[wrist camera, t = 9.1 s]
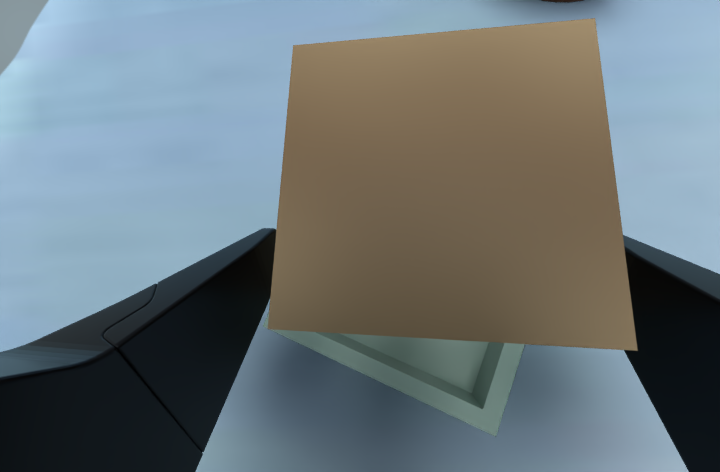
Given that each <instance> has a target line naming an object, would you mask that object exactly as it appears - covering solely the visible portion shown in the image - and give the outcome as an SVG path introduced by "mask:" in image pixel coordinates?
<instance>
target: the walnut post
mask: <svg viewBox="0 0 720 472" xmlns="http://www.w3.org/2000/svg"><path fill="white" fill-rule="evenodd" d="M268 329H273V330H290V331H307V332H325V333H342V334H359V335H376V336H393V337H411V338H428V339H445V340H462V341H479V342H497V343H514V344H531V345H548V346H565V347H583V348H600V349H617V350H634V351H638V350H637V342H636V334H635V326H634V319H633V311H632V303H631V295H630V287H629V280H628V272H627V264H626V256H625V248H624V241H623V233H622V225H621V217H620V209H619V202H618V194H617V186H616V178H615V171H614V163H613V155H612V147H611V139H610V132H609V124H608V116H607V108H606V100H605V93H604V85H603V77H602V69H601V61H600V54H599V46H598V38H597V30H596V22H595V18H593V19H582V20H571V21H560V22H549V23H538V24H526V25H515V26H504V27H493V28H482V29H471V30H460V31H449V32H438V33H426V34H415V35H404V36H393V37H382V38H371V39H360V40H349V41H337V42H326V43H315V44H304V45H293V54H292V65H291V76H290V87H289V98H288V109H287V120H286V131H285V142H284V153H283V164H282V175H281V187H280V198H279V209H278V220H277V231H276V242H275V253H274V264H273V275H272V286H271V297H270V308H269V319H268Z"/></svg>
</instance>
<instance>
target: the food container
mask: <svg viewBox="0 0 720 472" xmlns="http://www.w3.org/2000/svg"><path fill="white" fill-rule="evenodd" d="M542 1H549V2H575V1H583V0H542Z"/></svg>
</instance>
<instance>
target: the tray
mask: <svg viewBox="0 0 720 472" xmlns="http://www.w3.org/2000/svg"><path fill="white" fill-rule="evenodd" d="M268 319H269V313H268V315H267V318H266V320H265V322H264V325H263V327H265V328H267V329H268ZM269 330H271V331H274V332H276V333H278V334H280V335H282V336H284V337H286V338H288V339H290V340H292V341H295V342H297V343H299V344H301V345H303V346H305V347H307V348H309V349H311V350H314V351H316V352H318V353H320V354H322V355H324V356H326V357H328V358H330V359H333V360H335V361H337V362H339V363H341V364H343V365H345V366H347V367H349V368H352V369H354V370H356V371H358V372H360V373H362V374H364V375H366V376H368V377H370V378H373V379H375V380H377V381H379V382H381V383H383V384H385V385H387V386H389V387H392V388H394V389H396V390H398V391H400V392H402V393H404V394H406V395H408V396H411V397H413V398H415V399H417V400H419V401H421V402H423V403H425V404H427V405H430V406H432V407H434V408H436V409H438V410H440V411H442V412H444V413H446V414H448V415H451V416H453V417H455V418H457V419H459V420H461V421H463V422H465V423H467V424H470V425H472V426H474V427H476V428H478V429H480V430H482V431H484V432H486V433H489V434H491V435H493V436H495V437H496V435H497V432H498V429H499V425H500V422H501V419H502V416H503V413H504V410H505V406H506V403H507V400H508V397H509V394H510V390H511V387H512V384H513V381H514V378H515V375H516V371H517V368H518V365H519V362H520V359H521V355H522V352H523V349H524V346H525V344H514V343H497V342H479V341H462V340H445V339H428V338H411V337H393V336H376V335H359V334H342V333H325V332H307V331H290V330H273V329H269Z"/></svg>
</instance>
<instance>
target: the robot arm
mask: <svg viewBox="0 0 720 472" xmlns="http://www.w3.org/2000/svg"><path fill="white" fill-rule="evenodd" d="M276 231H277V230H276V229H273V228H263V229H261V230H259V231H257V232H255V233H253V234H251V235H249V236H247V237H245V238H243V239H241V240H239V241H237V242H235V243H233V244H231V245H230V246H228V247H226V248H224V249H222V250H220V251H218V252H216V253H214V254H212V255H210V256H208V257H206V258H204V259H202V260H200V261H199V262H197V263H195V264H193V265H191V266H189V267H187V268H185V269H183V270H181V271H179V272H177V273H175V274H173V275H171V276H169V277H168V278H166V279H164V280H162V281H160V282H158V284H154V285H152V286H150V287H148V288H146V289H144V290H142V291H140V292H138V293H136V294H134V295H132V296H130V297H128V298H126V299H124V300H122V301H120V302H118V303H116V304H114V305H112V306H109V307H107V308H105V309H103V310H101V311H99V312H97V313H95V314H92V315H90V316H88V317H86V318H84V319H81V320H79V321H77V322H75V323H73V324H70V325H68V326H66V327H64V328H62V329H60V330H57V331H55V332H53V333H51V334H49V335H46V336H44V337H42V338H40V339H38V340H35V341H33V342H31V343H28V344H26V345H23V346H20V347H17V348H14V349H11V350H7V351H3V352H0V472H195V471H196V469H197V466H198V464H199V462H200V460H201V457H202V455H203V453H202V452H204V450H205V447H206V445H207V443H208V440H209V438H210V436H211V433H212V431H213V429H214V427H215V424H216V422H217V420H218V417H219V415H220V413H221V410H222V408H223V406H224V403H225V401H226V399H227V397H228V394H229V392H230V390H231V387H232V385H233V383H234V380H235V378H236V376H237V373H238V371H239V369H240V366H241V364H242V362H243V360H244V357H245V355H246V353H247V350H248V348H249V346H250V343H251V341H252V339H253V336H254V334H255V332H256V330H257V327H258V325H259V323H260V320H261V318H262V316H263V313H264V311H265V309H266V306H267V304H268V302H269V299H270V296H271V286H272V275H273V264H274V253H275V242H276ZM623 241H624V248H625V256H626V264H627V272H628V280H629V287H630V295H631V303H632V311H633V319H634V326H635V334H636V342H637V350H638V351H634V350H624V351H625V353H626V355H627V357H628V359H629V361H630V362H631V364H632V366H633V368H634V370H635V372H636V374H637V375H638V377H639V379H640V381H641V383H642V385H643V387H644V389H645V390H646V392H647V394H648V396H649V398H650V400H651V402H652V404H653V405H654V407H655V409H656V411H657V413H658V415H659V417H660V419H661V420H662V422H663V424H664V426H665V428H666V430H667V432H668V434H669V435H670V437H671V439H672V441H673V443H674V445H675V447H676V449H677V450H678V452H679V454H680V456H681V458H682V460H683V462H684V464H685V465H686V467H687V469H688V471H689V472H720V274H718V273H715V272H713V271H710V270H708V269H706V268H703V267H701V266H698V265H696V264H693V263H691V262H688V261H686V260H683V259H681V258H678V257H676V256H674V255H671V254H669V253H666V252H664V251H661V250H659V249H656V248H654V247H651V246H649V245H646V244H644V243H642V242H639V241H637V240H634V239H632V238H629V237H627V236H624V235H623Z"/></svg>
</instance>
